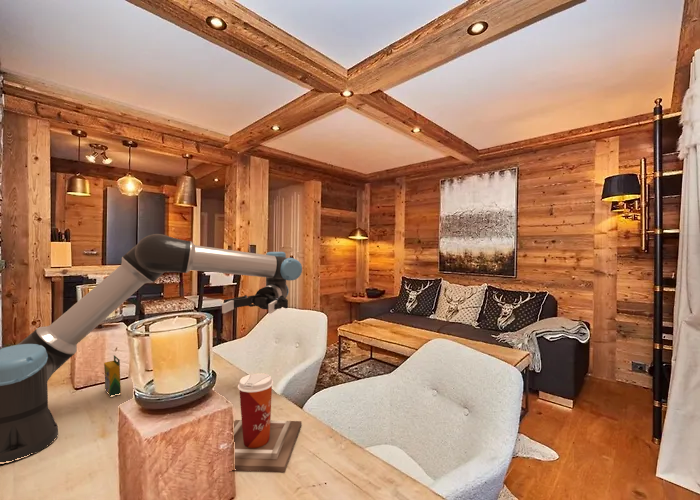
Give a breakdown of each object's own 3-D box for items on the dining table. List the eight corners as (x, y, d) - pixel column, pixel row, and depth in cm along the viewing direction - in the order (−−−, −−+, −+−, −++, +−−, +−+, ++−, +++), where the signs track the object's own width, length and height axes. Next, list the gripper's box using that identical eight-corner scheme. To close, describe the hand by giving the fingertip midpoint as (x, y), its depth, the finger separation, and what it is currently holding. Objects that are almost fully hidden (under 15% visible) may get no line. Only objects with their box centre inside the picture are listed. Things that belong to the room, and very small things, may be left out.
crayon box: (104, 391, 110) (103, 356, 110) (115, 388, 112) (114, 354, 112) (110, 398, 105) (109, 362, 105) (121, 395, 108) (120, 359, 107)
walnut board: (202, 469, 71) (201, 458, 71) (235, 424, 89) (235, 415, 89) (284, 472, 70) (284, 460, 70) (301, 425, 88) (301, 416, 88)
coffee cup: (264, 453, 75) (263, 387, 75) (231, 449, 77) (230, 384, 76) (279, 432, 83) (279, 373, 83) (249, 429, 85) (248, 370, 85)
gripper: (303, 307, 116) (289, 322, 95) (234, 307, 117) (204, 321, 96) (303, 286, 116) (289, 295, 95) (233, 286, 117) (204, 295, 96)
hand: (246, 308), depth 95 cm, fingers open, 13 cm apart
